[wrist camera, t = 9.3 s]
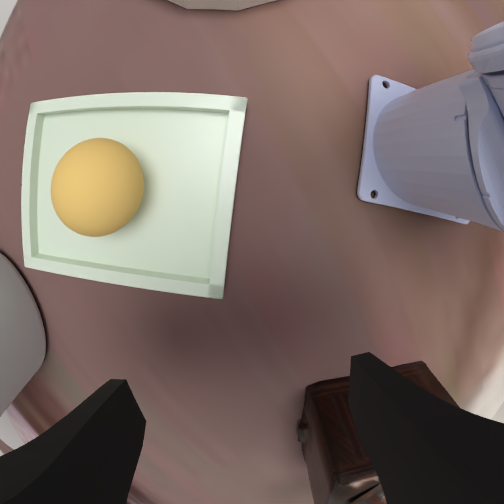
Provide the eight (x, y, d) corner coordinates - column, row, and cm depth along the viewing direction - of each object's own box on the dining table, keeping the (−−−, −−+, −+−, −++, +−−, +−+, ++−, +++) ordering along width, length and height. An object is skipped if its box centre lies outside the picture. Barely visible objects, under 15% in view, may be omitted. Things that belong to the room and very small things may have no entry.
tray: (246, 104, 15) (247, 97, 14) (224, 289, 18) (222, 299, 17) (43, 105, 14) (30, 102, 13) (36, 260, 17) (24, 266, 16)
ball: (162, 146, 15) (132, 138, 10) (148, 232, 16) (116, 258, 12) (86, 138, 15) (39, 132, 10) (76, 219, 16) (29, 238, 11)
